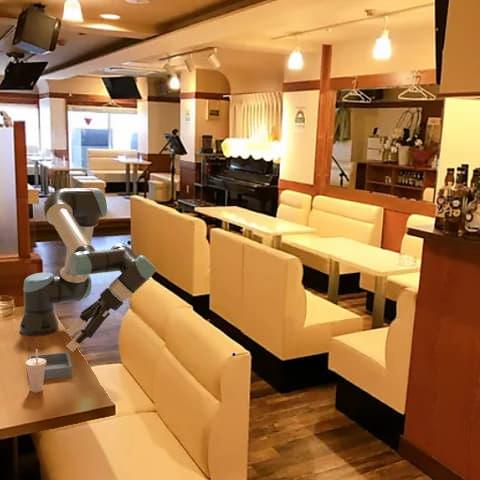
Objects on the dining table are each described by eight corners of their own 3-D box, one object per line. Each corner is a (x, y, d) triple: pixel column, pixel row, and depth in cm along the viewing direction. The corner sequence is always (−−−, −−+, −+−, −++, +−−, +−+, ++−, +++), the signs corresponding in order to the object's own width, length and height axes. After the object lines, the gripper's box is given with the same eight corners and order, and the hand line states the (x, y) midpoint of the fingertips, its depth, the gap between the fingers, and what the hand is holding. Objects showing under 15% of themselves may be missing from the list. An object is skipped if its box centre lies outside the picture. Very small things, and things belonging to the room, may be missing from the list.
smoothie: (34, 396, 180) (34, 354, 177) (21, 390, 183) (20, 349, 181) (51, 388, 185) (50, 348, 183) (38, 383, 189) (37, 343, 186)
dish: (28, 365, 202) (28, 355, 201) (68, 361, 207) (68, 351, 207) (29, 381, 190) (29, 371, 189) (72, 376, 195) (72, 366, 194)
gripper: (129, 314, 176) (79, 363, 175) (119, 291, 200) (75, 334, 198) (111, 298, 174) (60, 348, 172) (104, 277, 197) (59, 321, 195)
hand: (68, 341), depth 185 cm, fingers open, 13 cm apart
